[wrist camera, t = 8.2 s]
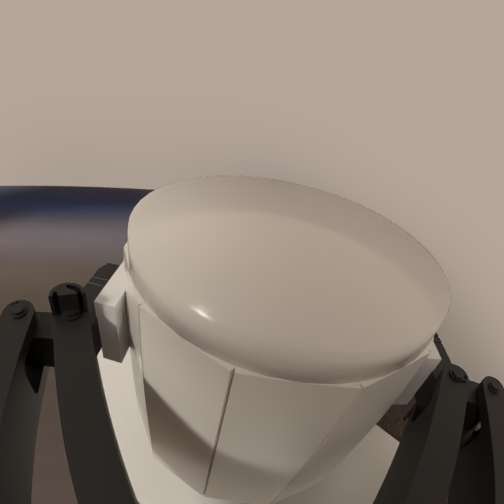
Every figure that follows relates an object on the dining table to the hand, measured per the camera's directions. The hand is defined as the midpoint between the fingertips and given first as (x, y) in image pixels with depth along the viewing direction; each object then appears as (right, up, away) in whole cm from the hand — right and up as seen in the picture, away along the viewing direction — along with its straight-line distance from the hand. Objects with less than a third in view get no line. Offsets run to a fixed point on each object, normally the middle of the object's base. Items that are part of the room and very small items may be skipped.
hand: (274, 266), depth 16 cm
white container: (-1, -7, -1) cm, 7 cm away
